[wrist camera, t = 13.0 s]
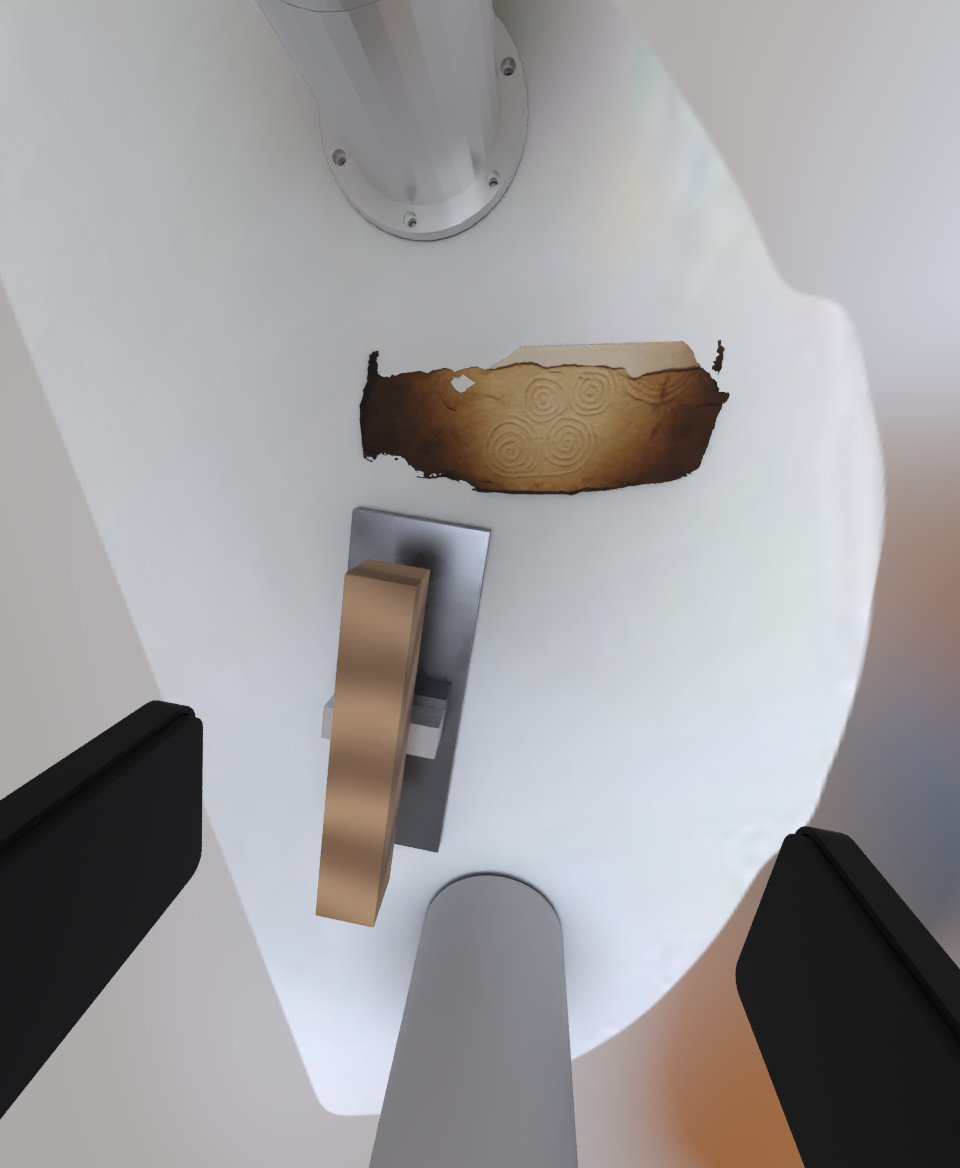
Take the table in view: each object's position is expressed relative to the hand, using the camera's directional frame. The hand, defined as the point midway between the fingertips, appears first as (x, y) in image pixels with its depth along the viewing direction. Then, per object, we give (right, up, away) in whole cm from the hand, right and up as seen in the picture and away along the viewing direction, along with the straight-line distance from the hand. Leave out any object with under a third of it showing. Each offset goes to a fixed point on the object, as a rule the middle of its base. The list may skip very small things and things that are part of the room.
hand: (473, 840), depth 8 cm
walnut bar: (-7, -6, +27) cm, 28 cm away
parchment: (+4, +15, +28) cm, 32 cm away
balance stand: (-6, -4, +33) cm, 34 cm away
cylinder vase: (+1, -27, +39) cm, 47 cm away
